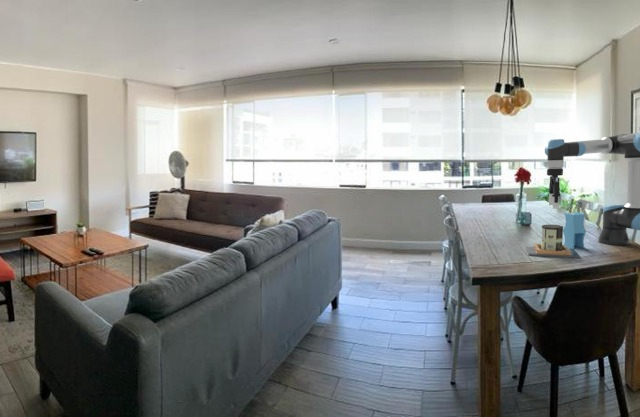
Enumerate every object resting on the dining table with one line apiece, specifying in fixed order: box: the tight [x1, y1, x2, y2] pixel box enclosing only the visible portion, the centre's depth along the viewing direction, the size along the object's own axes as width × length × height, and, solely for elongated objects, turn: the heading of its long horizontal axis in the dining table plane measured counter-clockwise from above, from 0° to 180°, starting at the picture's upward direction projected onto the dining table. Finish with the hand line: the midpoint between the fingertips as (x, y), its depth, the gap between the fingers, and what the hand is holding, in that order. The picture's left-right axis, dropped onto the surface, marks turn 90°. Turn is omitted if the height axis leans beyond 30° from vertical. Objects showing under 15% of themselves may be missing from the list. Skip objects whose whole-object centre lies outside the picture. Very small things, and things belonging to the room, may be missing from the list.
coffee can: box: [541, 224, 564, 251], centre depth 220 cm, size 10×10×14 cm
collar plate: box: [525, 243, 581, 259], centre depth 221 cm, size 24×17×3 cm
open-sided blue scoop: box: [563, 211, 587, 250], centre depth 232 cm, size 8×8×20 cm
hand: (553, 207), depth 218 cm, fingers open, 13 cm apart
